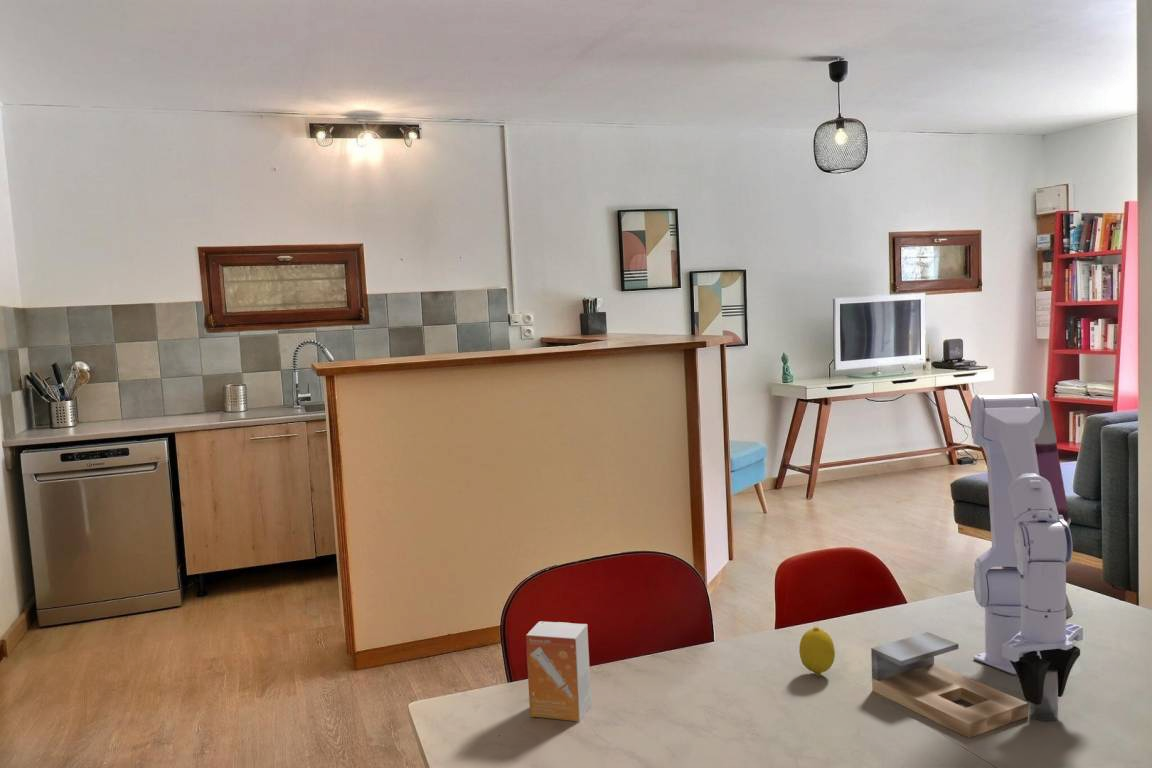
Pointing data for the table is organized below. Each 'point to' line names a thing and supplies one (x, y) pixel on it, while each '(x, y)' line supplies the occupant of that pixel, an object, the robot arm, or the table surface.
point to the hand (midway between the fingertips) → (1043, 698)
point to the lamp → (1052, 468)
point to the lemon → (817, 650)
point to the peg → (1047, 698)
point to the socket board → (940, 687)
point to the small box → (558, 670)
